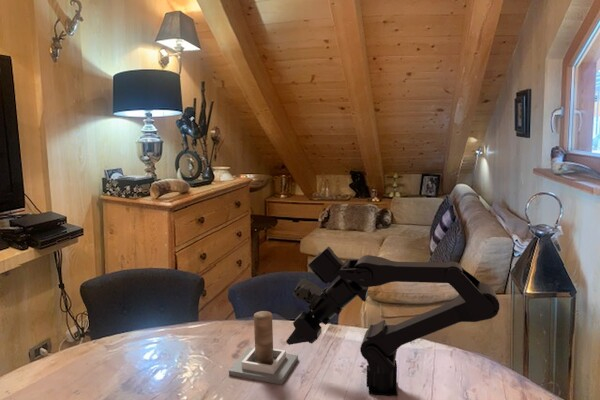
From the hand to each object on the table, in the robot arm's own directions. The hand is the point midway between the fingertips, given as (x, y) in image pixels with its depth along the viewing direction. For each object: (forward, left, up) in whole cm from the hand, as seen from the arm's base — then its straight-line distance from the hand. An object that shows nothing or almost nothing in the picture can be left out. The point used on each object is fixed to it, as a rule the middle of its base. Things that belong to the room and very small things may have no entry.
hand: (294, 334), depth 110 cm
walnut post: (+8, -2, -9) cm, 12 cm away
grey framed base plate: (+8, -2, -10) cm, 13 cm away
